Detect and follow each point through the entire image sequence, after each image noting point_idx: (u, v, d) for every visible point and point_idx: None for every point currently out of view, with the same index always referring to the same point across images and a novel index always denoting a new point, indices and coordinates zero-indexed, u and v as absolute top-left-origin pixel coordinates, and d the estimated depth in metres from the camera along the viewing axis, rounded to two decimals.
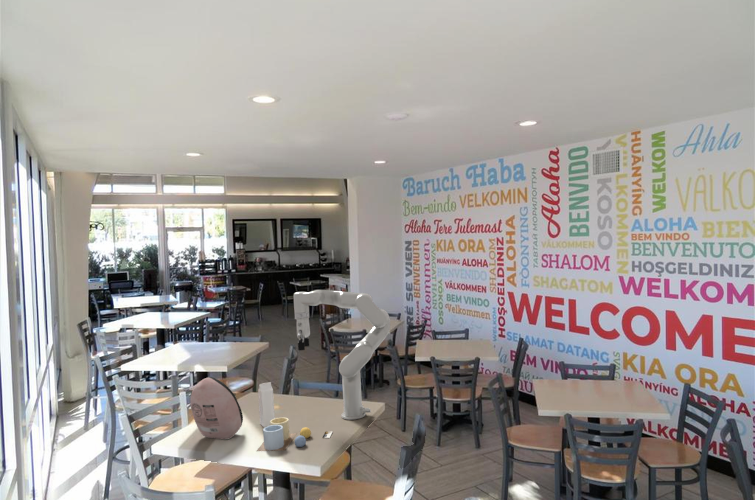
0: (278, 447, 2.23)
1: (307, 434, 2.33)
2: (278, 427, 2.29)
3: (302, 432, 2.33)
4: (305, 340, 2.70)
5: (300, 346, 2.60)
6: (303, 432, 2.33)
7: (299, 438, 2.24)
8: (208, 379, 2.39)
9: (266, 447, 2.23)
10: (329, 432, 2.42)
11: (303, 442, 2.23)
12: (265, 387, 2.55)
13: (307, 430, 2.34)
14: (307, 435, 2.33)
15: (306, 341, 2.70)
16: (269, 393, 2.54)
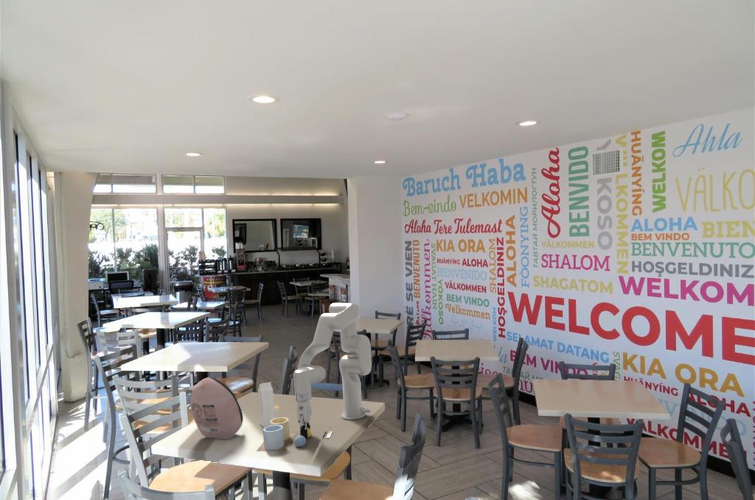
0: (278, 447, 2.23)
1: None
2: (278, 427, 2.29)
3: None
4: None
5: (302, 434, 2.31)
6: None
7: (299, 438, 2.24)
8: (208, 379, 2.39)
9: (266, 447, 2.23)
10: (329, 432, 2.42)
11: (303, 442, 2.23)
12: (265, 387, 2.55)
13: (307, 430, 2.34)
14: None
15: None
16: (269, 393, 2.54)
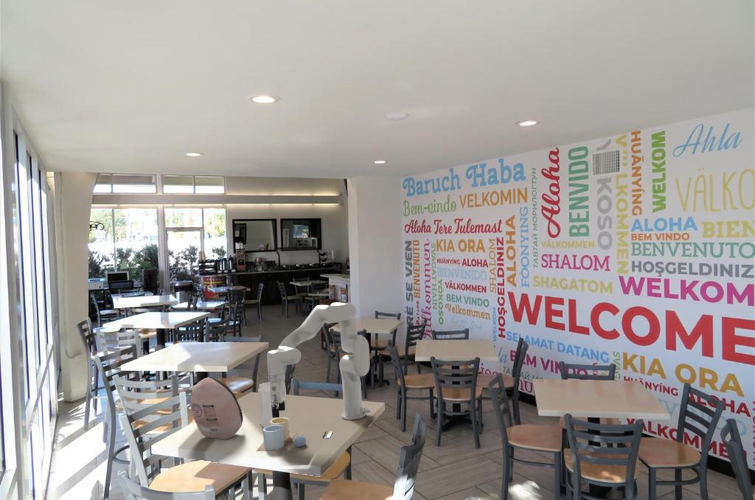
0: (278, 447, 2.23)
1: None
2: (278, 427, 2.29)
3: None
4: (280, 404, 2.41)
5: (274, 413, 2.30)
6: None
7: (299, 438, 2.24)
8: (208, 379, 2.39)
9: (266, 447, 2.23)
10: (329, 432, 2.42)
11: (303, 442, 2.23)
12: (265, 387, 2.55)
13: None
14: None
15: (282, 405, 2.41)
16: (269, 393, 2.54)
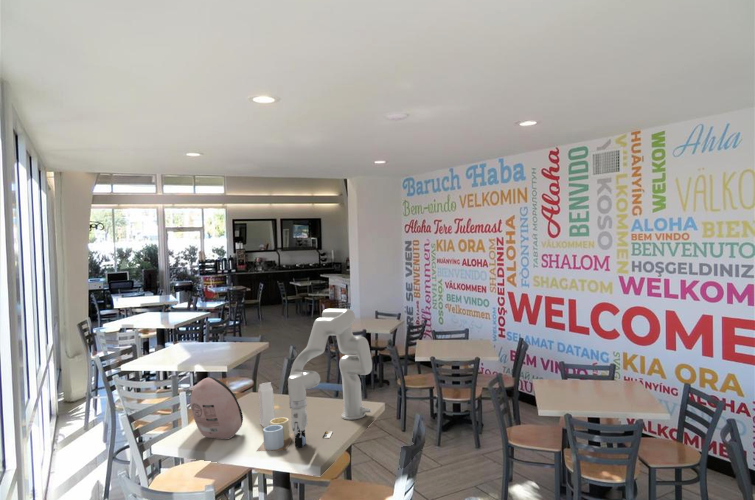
0: (278, 447, 2.23)
1: None
2: (278, 427, 2.29)
3: None
4: (301, 434, 2.28)
5: (297, 442, 2.21)
6: None
7: None
8: (208, 379, 2.39)
9: (266, 447, 2.23)
10: (329, 432, 2.42)
11: (303, 442, 2.23)
12: (265, 387, 2.55)
13: None
14: None
15: None
16: (269, 393, 2.54)
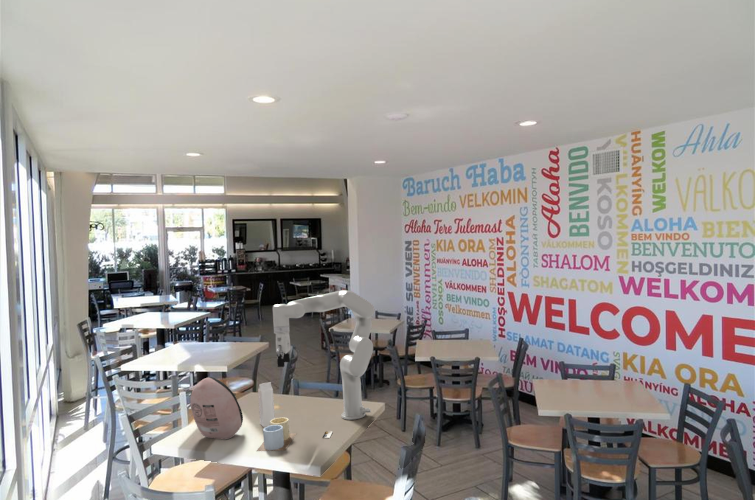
0: (278, 447, 2.23)
1: None
2: (278, 427, 2.29)
3: None
4: (285, 355, 2.53)
5: (279, 362, 2.43)
6: None
7: None
8: (208, 379, 2.39)
9: (266, 447, 2.23)
10: (329, 432, 2.42)
11: None
12: (265, 387, 2.55)
13: None
14: None
15: (286, 356, 2.53)
16: (269, 393, 2.54)
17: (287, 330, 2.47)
